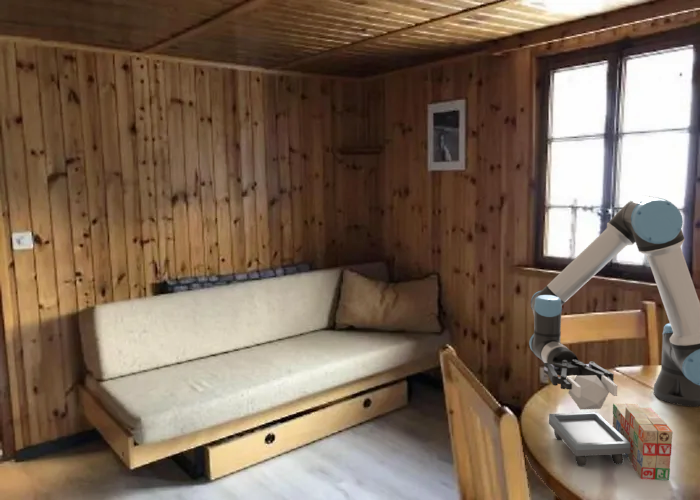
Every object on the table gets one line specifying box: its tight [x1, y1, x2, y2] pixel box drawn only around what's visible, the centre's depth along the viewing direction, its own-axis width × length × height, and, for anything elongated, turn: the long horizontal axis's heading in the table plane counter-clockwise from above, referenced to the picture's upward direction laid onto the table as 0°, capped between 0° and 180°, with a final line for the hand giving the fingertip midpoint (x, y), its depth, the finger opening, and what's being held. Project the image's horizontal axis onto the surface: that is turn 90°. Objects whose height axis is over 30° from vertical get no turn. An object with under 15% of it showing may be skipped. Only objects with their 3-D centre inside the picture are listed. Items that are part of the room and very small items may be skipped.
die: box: [568, 375, 609, 410], centre depth 139 cm, size 8×9×10 cm
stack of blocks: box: [612, 402, 674, 481], centre depth 137 cm, size 21×6×12 cm, turn 172°
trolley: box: [548, 411, 630, 467], centre depth 141 cm, size 13×17×6 cm
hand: (597, 391), depth 134 cm, fingers closed on die, 8 cm apart
